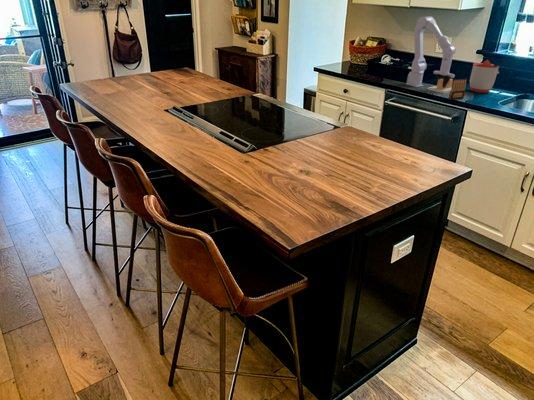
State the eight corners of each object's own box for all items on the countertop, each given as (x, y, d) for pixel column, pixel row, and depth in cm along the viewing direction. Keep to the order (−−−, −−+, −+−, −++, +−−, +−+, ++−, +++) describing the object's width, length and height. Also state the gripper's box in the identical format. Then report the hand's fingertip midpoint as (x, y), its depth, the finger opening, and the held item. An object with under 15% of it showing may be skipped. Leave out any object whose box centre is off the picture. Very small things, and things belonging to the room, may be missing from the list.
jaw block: (436, 90, 279) (438, 79, 276) (439, 89, 281) (441, 78, 278) (440, 91, 277) (442, 80, 274) (443, 90, 279) (446, 79, 275)
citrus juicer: (499, 94, 275) (508, 62, 266) (474, 93, 274) (482, 62, 265) (486, 88, 289) (494, 58, 280) (462, 88, 288) (469, 57, 279)
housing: (427, 89, 282) (430, 78, 279) (441, 87, 289) (443, 76, 286) (444, 93, 272) (446, 82, 269) (457, 91, 279) (460, 80, 276)
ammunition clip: (461, 97, 264) (465, 78, 258) (463, 98, 262) (468, 79, 257) (448, 99, 260) (452, 79, 254) (450, 100, 259) (454, 80, 253)
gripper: (432, 64, 275) (428, 85, 282) (451, 68, 265) (446, 89, 271) (439, 63, 279) (434, 84, 285) (458, 67, 268) (453, 88, 274)
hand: (441, 86), depth 278 cm, fingers closed on jaw block, 3 cm apart
